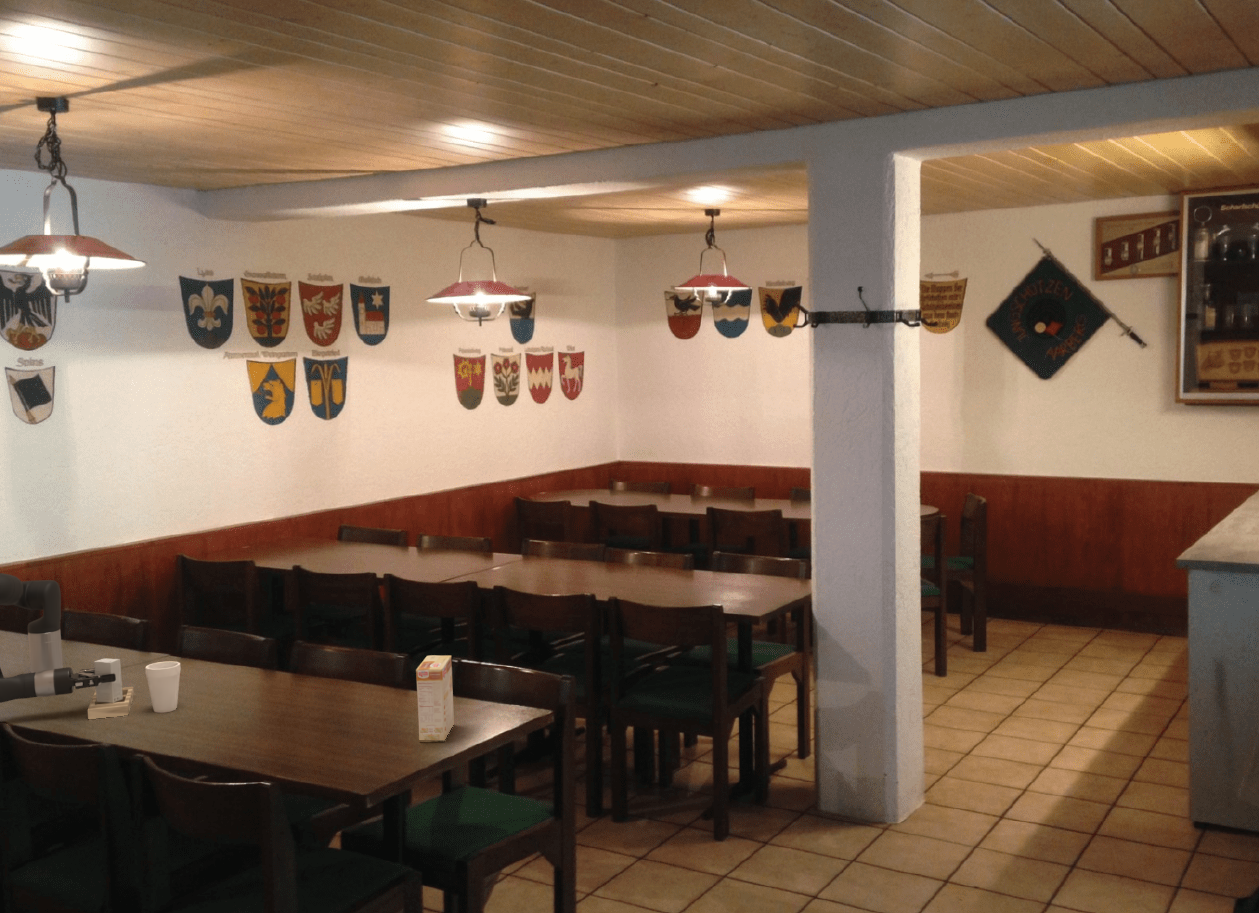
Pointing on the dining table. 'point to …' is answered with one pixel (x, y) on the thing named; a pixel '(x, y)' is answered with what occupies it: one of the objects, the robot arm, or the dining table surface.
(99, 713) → the wooden crate
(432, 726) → the coffeecake box
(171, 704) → the foam cup
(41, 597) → the robot arm
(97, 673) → the skincare box
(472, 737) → the dining table surface
